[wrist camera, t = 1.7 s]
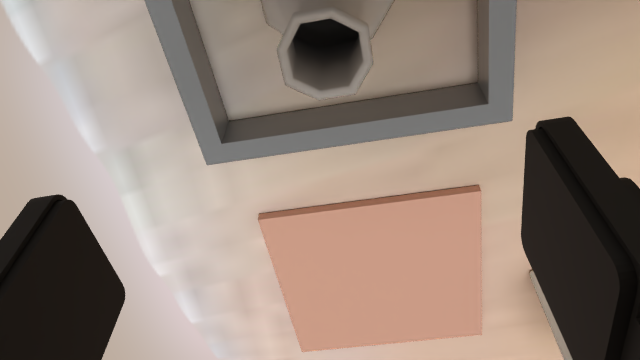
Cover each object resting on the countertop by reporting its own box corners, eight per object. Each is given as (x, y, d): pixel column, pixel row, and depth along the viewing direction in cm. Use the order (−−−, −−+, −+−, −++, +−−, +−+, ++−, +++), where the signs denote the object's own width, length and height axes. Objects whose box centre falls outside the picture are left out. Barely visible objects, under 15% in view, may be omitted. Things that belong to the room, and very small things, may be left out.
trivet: (478, 185, 32) (481, 191, 32) (479, 328, 40) (481, 334, 40) (259, 213, 34) (258, 219, 34) (302, 345, 42) (302, 352, 42)
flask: (248, 35, 27) (212, 137, 19) (257, -124, 23) (216, -81, 15) (385, 54, 28) (407, 161, 19) (420, -99, 23) (466, -42, 15)
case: (508, -323, 19) (768, -497, 8) (500, 99, 29) (607, 294, 18) (86, -219, 21) (-202, -234, 10) (214, 141, 31) (146, 341, 20)
